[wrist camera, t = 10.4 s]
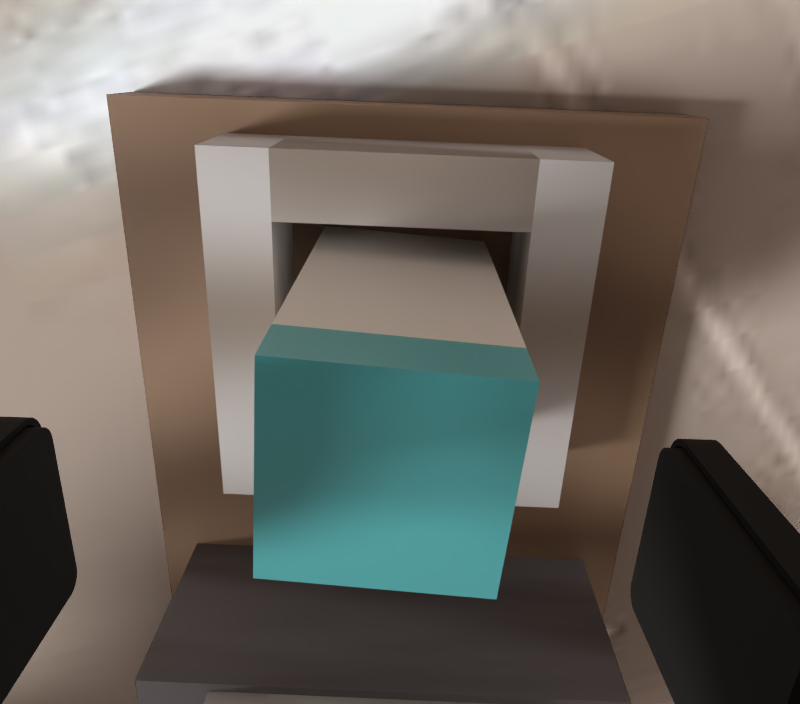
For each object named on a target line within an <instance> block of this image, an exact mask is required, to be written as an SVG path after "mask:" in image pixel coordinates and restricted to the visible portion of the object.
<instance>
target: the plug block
mask: <svg viewBox="0 0 800 704" xmlns="http://www.w3.org/2000/svg"><path fill="white" fill-rule="evenodd" d="M539 384H540V381H539V378H538V376H537V373H536V371H535V368H534V366H533V363H532V361H531V358H530V356H529V353H528V350H527V348H526V345H525V343H524V340H523V338H522V335H521V333H520V330H519V328H518V325H517V323H516V320H515V317H514V315H513V312H512V310H511V307H510V305H509V302H508V300H507V297H506V295H505V292H504V289H503V287H502V284H501V282H500V279H499V277H498V274H497V272H496V269H495V267H494V264H493V261H492V259H491V256H490V254H489V251H488V249H487V246H486V244H485V241H476V240H466V239H456V238H445V237H435V236H425V235H415V234H405V233H394V232H384V231H374V230H364V229H354V228H344V227H333V226H325V228H324V229H323V231H322V233H321V235H320V237H319V239H318V240H317V242H316V244H315V246H314V248H313V250H312V251H311V253H310V255H309V257H308V259H307V260H306V262H305V264H304V266H303V268H302V270H301V271H300V273H299V275H298V277H297V279H296V281H295V282H294V284H293V286H292V288H291V290H290V291H289V293H288V295H287V297H286V299H285V301H284V302H283V304H282V306H281V308H280V310H279V311H278V313H277V315H276V317H275V319H274V321H273V322H272V324H271V326H270V328H269V330H268V332H267V333H266V335H265V337H264V339H263V341H262V342H261V344H260V346H259V348H258V350H257V352H256V353H255V370H254V516H253V578H257V579H269V580H280V581H291V582H303V583H314V584H325V585H337V586H348V587H360V588H371V589H382V590H394V591H405V592H417V593H428V594H439V595H451V596H462V597H474V598H485V599H497V594H498V589H499V584H500V579H501V574H502V569H503V564H504V559H505V554H506V549H507V544H508V539H509V534H510V529H511V524H512V519H513V514H514V509H515V504H516V499H517V494H518V489H519V484H520V479H521V474H522V469H523V464H524V459H525V454H526V449H527V444H528V439H529V434H530V429H531V424H532V419H533V414H534V409H535V404H536V399H537V394H538V389H539Z"/></svg>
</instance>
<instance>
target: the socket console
mask: <svg viewBox="0 0 800 704" xmlns="http://www.w3.org/2000/svg"><path fill="white" fill-rule="evenodd" d="M106 95H107V102H108V110H109V118H110V125H111V133H112V141H113V148H114V156H115V164H116V171H117V179H118V186H119V194H120V202H121V209H122V217H123V225H124V232H125V240H126V248H127V255H128V263H129V271H130V278H131V286H132V294H133V301H134V309H135V317H136V324H137V332H138V339H139V347H140V355H141V362H142V370H143V378H144V385H145V393H146V401H147V408H148V416H149V424H150V431H151V439H152V447H153V454H154V462H155V469H156V477H157V485H158V492H159V500H160V508H161V515H162V523H163V531H164V538H165V546H166V554H167V561H168V569H169V577H170V584H171V592H172V600H171V602H170V604H169V606H168V609H167V611H166V613H165V615H164V617H163V620H162V622H161V624H160V626H159V628H158V631H157V633H156V635H155V637H154V639H153V642H152V644H151V646H150V648H149V650H148V653H147V655H146V657H145V659H144V661H143V664H142V666H141V668H140V670H139V672H138V675H137V677H136V679H135V685H136V690H137V696H138V702H139V704H631V701H630V698H629V695H628V692H627V689H626V687H625V684H624V681H623V678H622V675H621V672H620V669H619V666H618V663H617V660H616V657H615V654H614V651H613V648H612V645H611V642H610V639H609V636H608V633H607V630H606V627H605V624H604V621H603V615H604V611H605V606H606V601H607V597H608V592H609V587H610V582H611V578H612V573H613V568H614V564H615V559H616V554H617V549H618V545H619V540H620V535H621V530H622V526H623V521H624V516H625V512H626V507H627V502H628V497H629V493H630V488H631V483H632V478H633V474H634V469H635V464H636V460H637V455H638V450H639V445H640V441H641V436H642V431H643V426H644V422H645V417H646V412H647V408H648V403H649V398H650V393H651V389H652V384H653V379H654V374H655V370H656V365H657V360H658V356H659V351H660V346H661V341H662V337H663V332H664V327H665V323H666V318H667V313H668V308H669V304H670V299H671V294H672V289H673V285H674V280H675V275H676V271H677V266H678V261H679V256H680V252H681V247H682V242H683V237H684V233H685V228H686V223H687V219H688V214H689V209H690V204H691V200H692V195H693V190H694V185H695V181H696V176H697V171H698V167H699V162H700V157H701V152H702V148H703V143H704V138H705V133H706V129H707V124H708V119H705V118H700V117H695V116H690V115H684V114H660V113H635V112H611V111H586V110H562V109H537V108H513V107H488V106H464V105H439V104H415V103H390V102H366V101H341V100H317V99H292V98H268V97H243V96H219V95H194V94H170V93H145V92H126V93H116V94H106ZM325 226H333V227H344V228H354V229H364V230H374V231H384V232H394V233H405V234H415V235H425V236H435V237H445V238H456V239H466V240H476V241H485V244H486V246H487V249H488V251H489V254H490V256H491V259H492V261H493V264H494V267H495V269H496V272H497V274H498V277H499V279H500V282H501V284H502V287H503V289H504V292H505V295H506V297H507V300H508V302H509V305H510V307H511V310H512V312H513V315H514V317H515V320H516V323H517V325H518V328H519V330H520V333H521V335H522V338H523V340H524V343H525V345H526V348H527V350H528V353H529V356H530V358H531V361H532V363H533V366H534V368H535V371H536V373H537V376H538V378H539V381H540V384H539V389H538V394H537V399H536V404H535V409H534V414H533V419H532V424H531V429H530V434H529V439H528V444H527V449H526V454H525V459H524V464H523V469H522V474H521V479H520V484H519V489H518V494H517V499H516V504H515V509H514V514H513V519H512V524H511V529H510V534H509V539H508V544H507V549H506V554H505V559H504V564H503V569H502V574H501V579H500V584H499V589H498V594H497V599H485V598H474V597H462V596H451V595H439V594H428V593H417V592H405V591H394V590H382V589H371V588H360V587H348V586H337V585H325V584H314V583H303V582H291V581H280V580H269V579H257V578H253V516H254V370H255V353H256V352H257V350H258V348H259V346H260V344H261V342H262V341H263V339H264V337H265V335H266V333H267V332H268V330H269V328H270V326H271V324H272V322H273V321H274V319H275V317H276V315H277V313H278V311H279V310H280V308H281V306H282V304H283V302H284V301H285V299H286V297H287V295H288V293H289V291H290V290H291V288H292V286H293V284H294V282H295V281H296V279H297V277H298V275H299V273H300V271H301V270H302V268H303V266H304V264H305V262H306V260H307V259H308V257H309V255H310V253H311V251H312V250H313V248H314V246H315V244H316V242H317V240H318V239H319V237H320V235H321V233H322V231H323V229H324V228H325Z"/></svg>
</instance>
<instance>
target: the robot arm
mask: <svg viewBox="0 0 800 704" xmlns="http://www.w3.org/2000/svg"><path fill="white" fill-rule="evenodd" d="M76 578H77V567H76V562H75V556H74V551H73V546H72V540H71V535H70V530H69V524H68V519H67V514H66V508H65V503H64V497H63V492H62V487H61V481H60V476H59V471H58V465H57V460H56V455H55V449H54V444H53V439H52V435H51V432H50V431H49V429H47V428H42V427H41V425H40V424H39V422H38V421H37V420H36V419H34V418H24V417H0V704H2V703H3V701H4V700H5V698H6V696H7V695H8V693H9V692H10V690H11V689H12V687H13V685H14V684H15V682H16V681H17V679H18V677H19V676H20V674H21V673H22V671H23V670H24V668H25V666H26V665H27V663H28V662H29V660H30V659H31V657H32V655H33V654H34V652H35V651H36V649H37V648H38V646H39V644H40V643H41V641H42V640H43V638H44V637H45V635H46V633H47V632H48V630H49V629H50V627H51V626H52V624H53V622H54V621H55V619H56V618H57V616H58V615H59V613H60V611H61V610H62V608H63V607H64V605H65V604H66V602H67V600H68V599H69V597H70V596H71V594H72V592H73V590H74V587H75V583H76ZM631 601H632V606H633V609H634V612H635V614H636V616H637V619H638V621H639V623H640V626H641V628H642V630H643V632H644V635H645V637H646V639H647V642H648V644H649V646H650V648H651V651H652V653H653V655H654V657H655V660H656V662H657V664H658V667H659V669H660V671H661V673H662V676H663V678H664V680H665V682H666V685H667V687H668V689H669V692H670V694H671V696H672V698H673V701H674V703H675V704H800V534H799V533H798V532H797V530H796V529H795V528H794V527H793V526H792V525H791V524H790V522H789V521H788V520H787V519H786V518H785V517H784V516H783V514H782V513H781V512H780V511H779V510H778V509H777V508H776V506H775V505H774V504H773V503H772V502H771V501H770V500H769V498H768V497H767V496H766V495H765V494H764V493H763V492H762V490H761V489H760V488H759V487H758V486H757V485H756V484H755V483H754V481H753V480H752V479H751V478H750V477H749V476H748V475H747V473H746V472H745V471H744V470H743V469H742V468H741V467H740V465H739V464H738V463H737V462H736V461H735V460H734V459H733V457H732V456H731V455H730V454H729V453H728V452H727V451H726V449H725V448H724V447H723V446H722V445H721V444H720V443H719V442H718V441H716V440H697V439H677V440H675V441H674V442H673V444H672V445H671V448H664V449H662V451H661V452H660V455H659V458H658V463H657V468H656V472H655V477H654V481H653V486H652V491H651V495H650V500H649V505H648V509H647V514H646V518H645V523H644V528H643V532H642V537H641V542H640V546H639V551H638V555H637V560H636V565H635V569H634V574H633V579H632V583H631Z"/></svg>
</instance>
